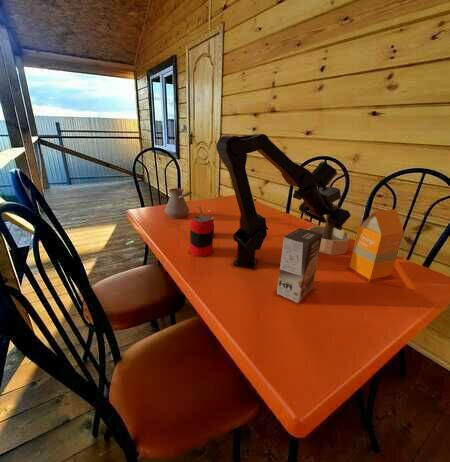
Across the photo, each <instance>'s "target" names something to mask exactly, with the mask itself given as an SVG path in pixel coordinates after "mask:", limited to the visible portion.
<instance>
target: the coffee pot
mask: <svg viewBox="0 0 450 462" xmlns="http://www.w3.org/2000/svg"><path fill="white" fill-rule="evenodd" d="M168 191H169V192H170V195H169V199H168V201H167V203H166V206H165V208H164V212H165V214H166V215H167V216H168V217H169V218H172V219H182V218H185V217H186V216H187V215H188V214H189V212H190V209H189V205H188V204H187V201H186V199H185V197H188V196H189V197H191V198H192V197H194V196H195V193H194V192H192V191H188V192H185V193H184V189H183V188H178V187H176V188H169V190H168ZM183 193H184V194H183ZM191 194H193V195H191Z"/></svg>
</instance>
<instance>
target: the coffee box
mask: <svg viewBox="0 0 450 462" xmlns="http://www.w3.org/2000/svg"><path fill="white" fill-rule="evenodd" d="M321 239H322V234H321V233H318V232H314V231H311V230H308V229H305V228H301V227H299V228H297V229H295V230H293V231H292V232H290V233H288V234H286V235H284V236H283V242H282V250H281V257H280V265H279V272H278V273H279V274H278V280H277V290H276V294H277V295H278V296H281V297H284V298H286V299H288V300H290V301H292V302H294V303H296V304H300V303H301V302H302V301H303V299H304V298H306V296H307V295H308V294H309V293H310V292H311V291H312V290H313V288H314V283H315V278H316V274H317V273H316V272H317V268H318V261H319V256H320V252H319V250H320V245H321Z"/></svg>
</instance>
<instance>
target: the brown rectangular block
mask: <svg viewBox="0 0 450 462" xmlns="http://www.w3.org/2000/svg"><path fill="white" fill-rule="evenodd" d="M336 208H339V205H338V204H335V203H333V206H332V207H330V209H332V210H336ZM328 217H329V216H328V215H326V218H325V220H326V222H325V223H324V226H325V230H324V235H323V239H328V240H332V236H333V231H334V227H332V226H330V225H328V224H329V223H328V222H327V220H328Z"/></svg>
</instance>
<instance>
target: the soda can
mask: <svg viewBox="0 0 450 462" xmlns="http://www.w3.org/2000/svg"><path fill="white" fill-rule="evenodd" d="M209 217H210V216H208V215H202V216H201V215H197V216H194V217H193V218H192V219H191V220H190V222H189V238H190V239H189V242H190V243H189V246H190V247H189V248H190V250H189V251H190V253H191V254H192V255H193V256H196V257H206V256H210V255H211V254H212V253H213V252H214V250H213V249H214V248H213V247H214V246H213V245H214V235H213V223H214V221H213V222H212V220H211V219H210V218H209Z"/></svg>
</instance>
